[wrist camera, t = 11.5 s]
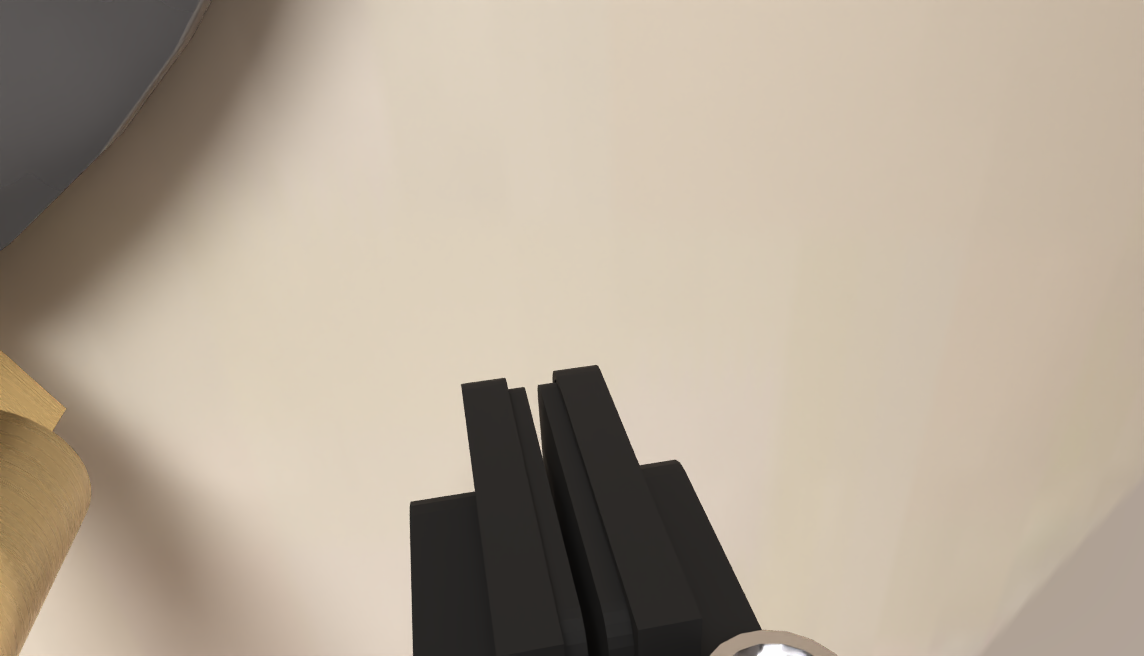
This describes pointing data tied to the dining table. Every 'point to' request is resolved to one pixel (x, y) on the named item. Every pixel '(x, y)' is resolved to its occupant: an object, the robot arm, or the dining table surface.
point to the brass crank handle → (33, 501)
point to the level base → (75, 88)
